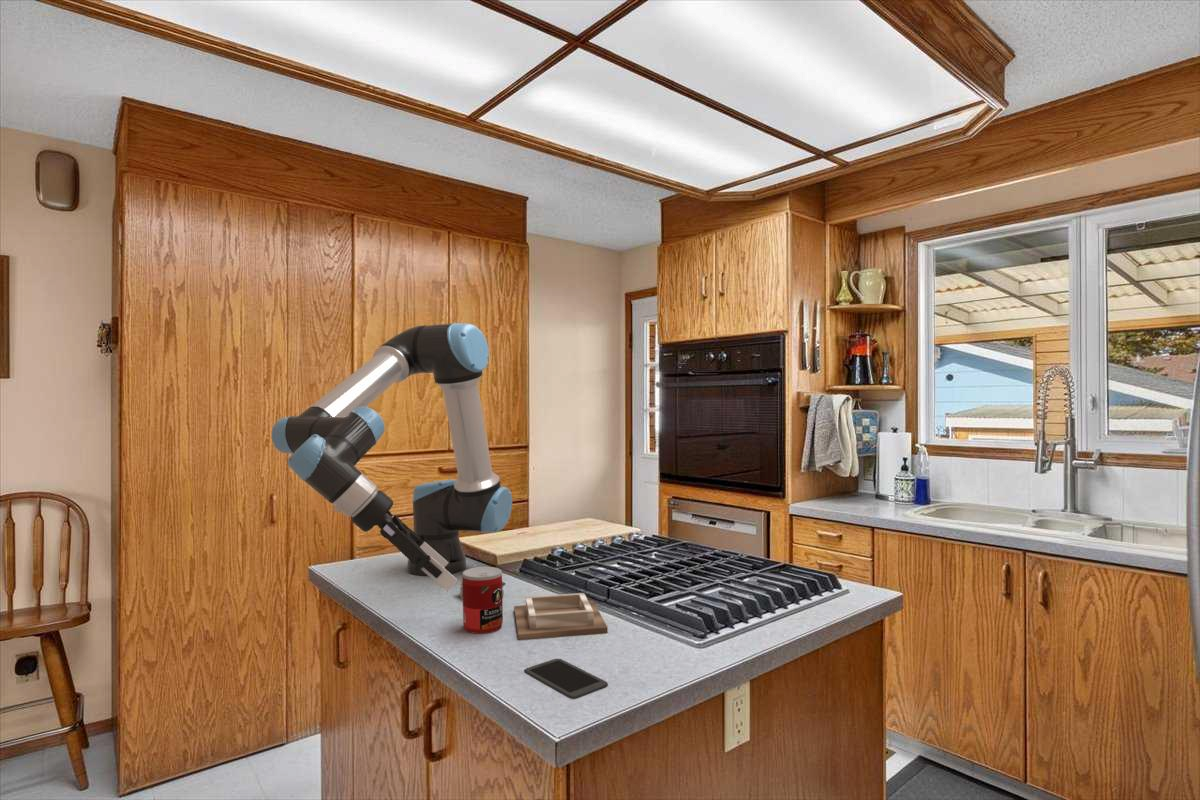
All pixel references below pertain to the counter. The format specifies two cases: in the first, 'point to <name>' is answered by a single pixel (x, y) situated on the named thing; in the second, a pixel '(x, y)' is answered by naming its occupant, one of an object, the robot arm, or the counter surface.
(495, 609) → the canned food
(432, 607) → the counter surface
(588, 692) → the cell phone
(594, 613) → the socket board
